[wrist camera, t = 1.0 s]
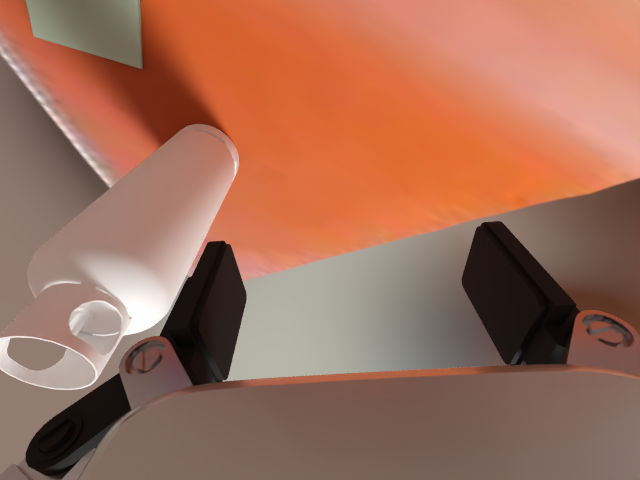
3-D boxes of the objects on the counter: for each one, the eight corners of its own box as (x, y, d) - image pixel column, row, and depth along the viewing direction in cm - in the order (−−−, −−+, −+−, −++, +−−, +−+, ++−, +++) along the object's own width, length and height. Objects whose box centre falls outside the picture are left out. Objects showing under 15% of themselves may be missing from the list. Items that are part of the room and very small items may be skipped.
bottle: (158, 136, 36) (-105, 335, 13) (218, 113, 34) (39, 291, 12) (196, 194, 40) (48, 414, 18) (250, 175, 39) (165, 389, 16)
